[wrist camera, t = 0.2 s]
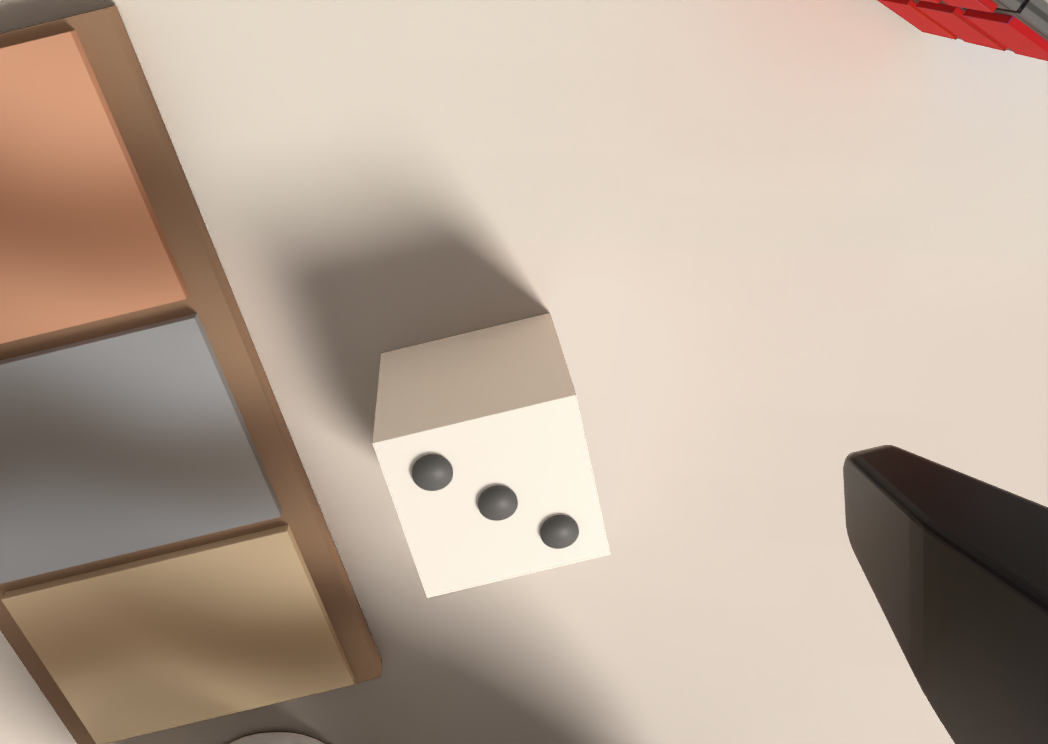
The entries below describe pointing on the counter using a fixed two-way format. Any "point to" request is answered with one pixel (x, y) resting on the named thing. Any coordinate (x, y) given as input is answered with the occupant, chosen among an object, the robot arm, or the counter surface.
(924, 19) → the puzzle
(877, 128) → the counter surface
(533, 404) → the die
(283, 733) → the supplement bottle
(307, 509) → the game board
